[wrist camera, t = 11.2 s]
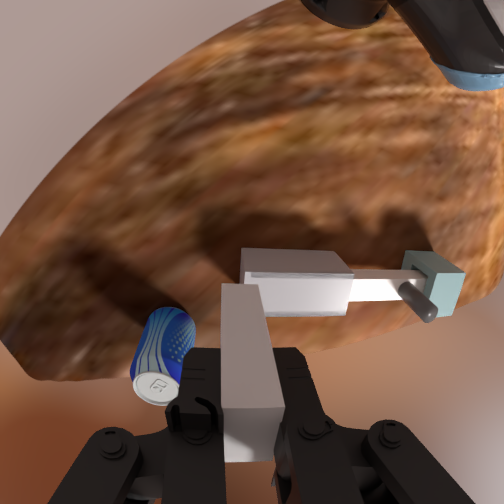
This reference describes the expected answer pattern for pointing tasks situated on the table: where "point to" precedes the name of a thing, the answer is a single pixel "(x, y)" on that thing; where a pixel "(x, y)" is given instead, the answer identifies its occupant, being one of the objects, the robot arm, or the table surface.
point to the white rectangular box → (298, 281)
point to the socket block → (437, 278)
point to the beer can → (162, 355)
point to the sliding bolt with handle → (394, 289)
